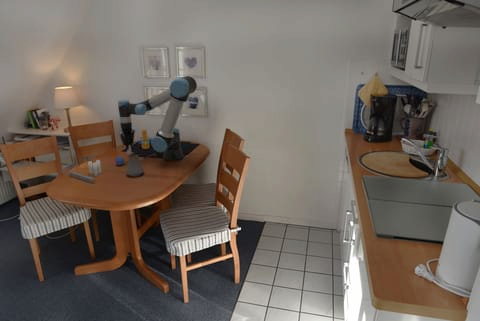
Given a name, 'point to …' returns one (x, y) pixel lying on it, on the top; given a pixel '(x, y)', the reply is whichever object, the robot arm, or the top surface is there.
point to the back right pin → (90, 167)
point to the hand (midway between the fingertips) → (129, 153)
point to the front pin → (98, 166)
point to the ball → (119, 160)
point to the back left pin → (95, 169)
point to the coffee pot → (135, 165)
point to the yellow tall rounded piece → (144, 140)
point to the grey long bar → (82, 177)
